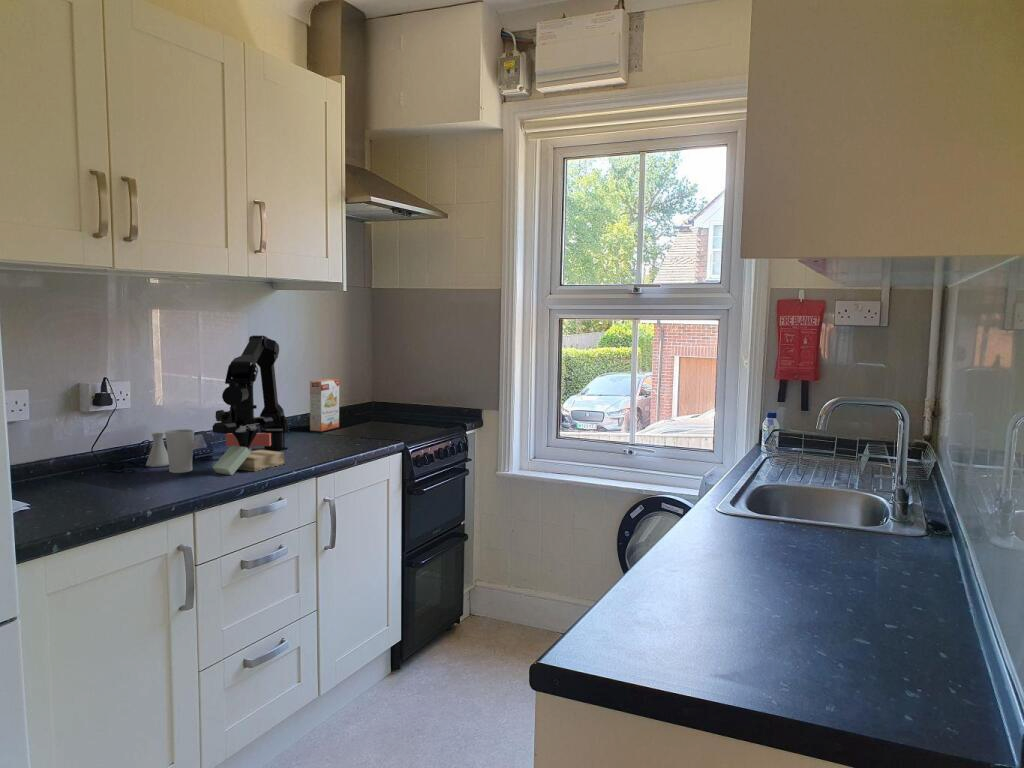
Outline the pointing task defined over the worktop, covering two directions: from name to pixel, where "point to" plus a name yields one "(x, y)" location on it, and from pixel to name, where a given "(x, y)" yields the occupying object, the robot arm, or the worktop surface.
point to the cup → (180, 450)
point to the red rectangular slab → (258, 440)
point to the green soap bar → (231, 460)
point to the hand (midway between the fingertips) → (244, 452)
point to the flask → (158, 452)
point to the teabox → (262, 460)
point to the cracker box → (324, 405)
